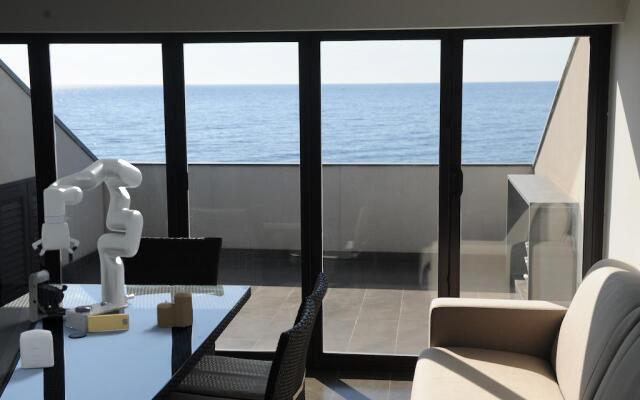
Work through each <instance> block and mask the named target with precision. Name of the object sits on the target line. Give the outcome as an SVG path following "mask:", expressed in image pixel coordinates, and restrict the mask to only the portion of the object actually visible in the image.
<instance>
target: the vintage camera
mask: <svg viewBox="0 0 640 400" xmlns="http://www.w3.org/2000/svg"><path fill="white" fill-rule="evenodd" d="M68 287H69V286H68V285H66V284H62V285H61V288H59V287H58V286H55V285H52V284H50V273H49V271H48V270H46V269H42V270H41V271H38V272H37V271H36V272H32V273H31V274H30V275H29V276H28V314H29V317H28V319H29V320H30V322H32V323H36V322H39V321H40V320H42V318H43V319H44V318H45V319H46V317H48V316H65V317H66V310H68V309H69V308H65V307H62V306H60V304H61V303H62V302H63V301H64V298H65V293H64V292H66V291H67V290H68Z"/></svg>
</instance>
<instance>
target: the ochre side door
mask: <svg viewBox="0 0 640 400" xmlns="http://www.w3.org/2000/svg"><path fill="white" fill-rule="evenodd" d="M119 330H120V331H121V330H130V313H125V314H114V315H99V316H89V315H85V332H84V333H86V334H87V333H91V332H93V333H95V332H103V331H119Z"/></svg>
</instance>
